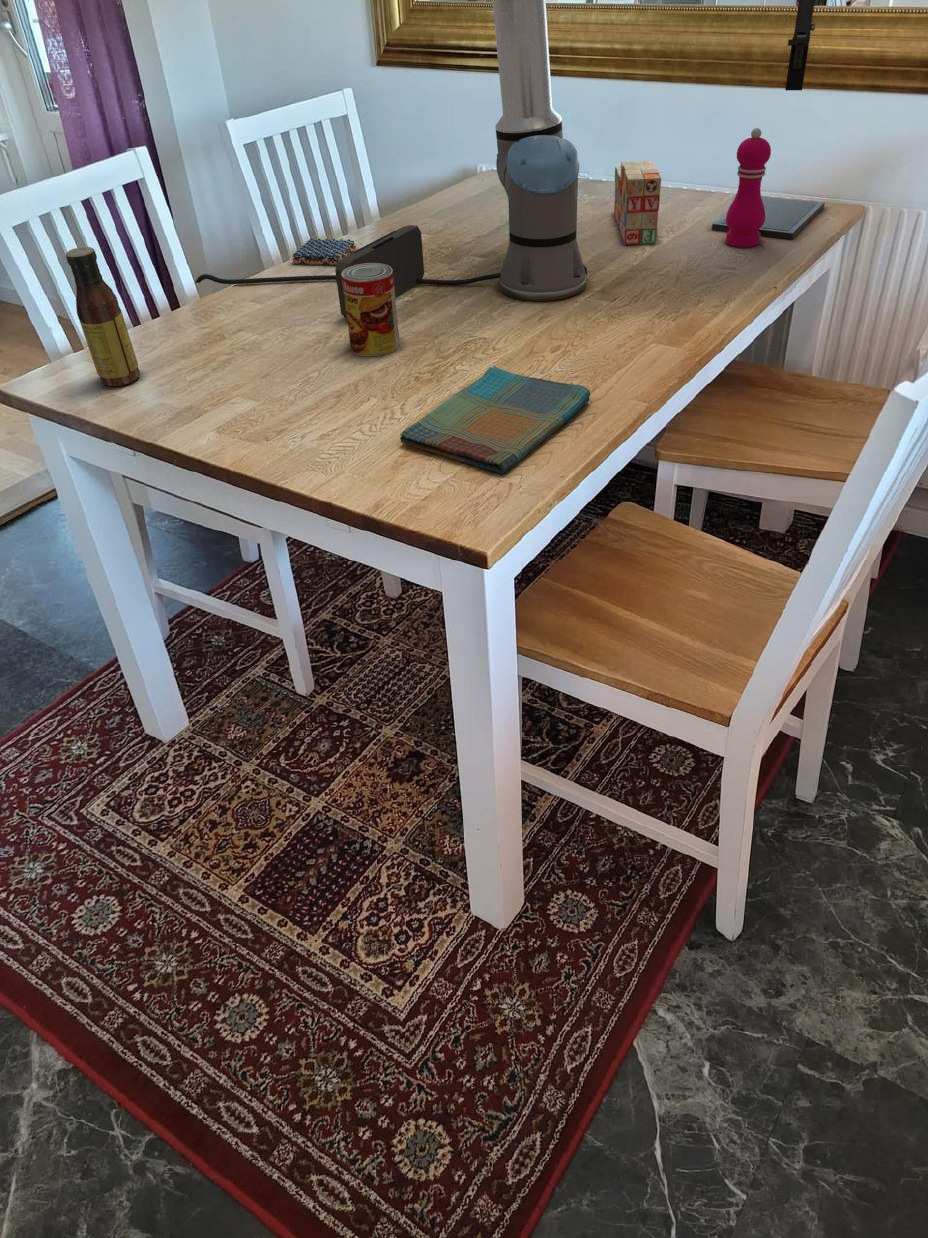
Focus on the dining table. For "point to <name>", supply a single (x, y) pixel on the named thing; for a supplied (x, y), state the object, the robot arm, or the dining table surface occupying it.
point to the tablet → (781, 217)
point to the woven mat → (323, 251)
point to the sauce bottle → (102, 321)
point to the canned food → (371, 309)
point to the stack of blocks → (637, 201)
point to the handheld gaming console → (389, 259)
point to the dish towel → (496, 419)
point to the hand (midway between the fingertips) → (794, 82)
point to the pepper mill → (748, 193)
